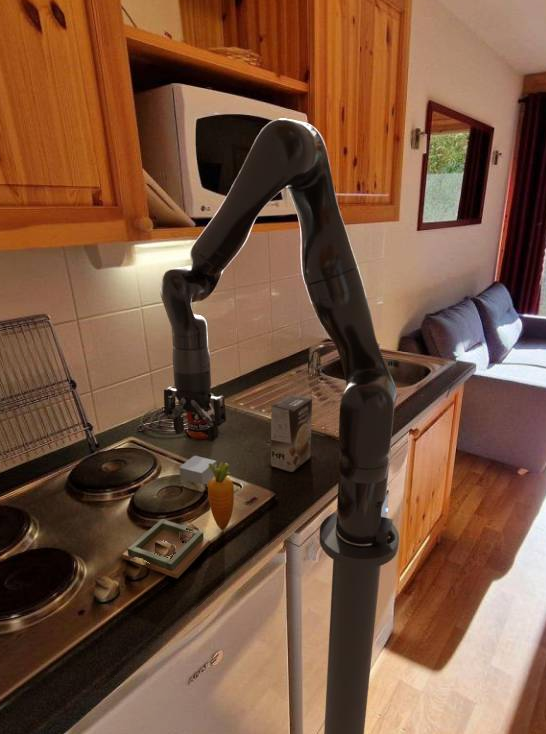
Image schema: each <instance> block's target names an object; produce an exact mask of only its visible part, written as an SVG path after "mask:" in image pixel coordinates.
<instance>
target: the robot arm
mask: <svg viewBox="0 0 546 734" xmlns="http://www.w3.org/2000/svg"><path fill="white" fill-rule="evenodd" d="M324 140H325V139H324V138H323V136H322V135H321V133H320V132H319V131H318V130H317V128H316V127H314V126H313V125H312V124H310V123H308V122H305V121H301V120H295V119H291V118H290V119H289V118H278V119H274V120H272V121H269V122H268V123H267V124H266V125H265V126H264V127H262V129H261V130H260V132H259V134H258V135H257V136H256V138H255V140H254V141H253V144H252V146H251V148H250V150H249V152H248V153H247V156H246V158H245V160H244V163H243V164H242V166H241V169H240V170H239V172H238V175H237V177H236V178H235V180H234V182H233V184H232V185H231V188H230V189H229V192H228V193H227V195H226V196H225V198H224V200H223V201H222V203H221V205H220V206H219V208H218V209H217V211H216V213H215V214H214V216H213V217H212V218H211V220H210V221H209V222H208V224H207V225H206V227H205V228H204V229H203V231H202V232H201V233H200V235H199V236H198V238H197V239H196V240H195V242H194V243H193V244H192V247H191V248H190V251H189V258H190V261H191V264H190V265H187V266H181V267H174V268H173V267H172V268H170V269H167V270H166V271H165V272H164V273H163V274H162V276H161V279H160V282H159V293H160V298H161V301H162V304H163V307H164V310H165V313H166V317H167V318H168V321H169V324H170V326H171V339H172V369H173V382H174V385H171V386H168V387H167V388H165V389H164V390H163V409H164V414H165V415H167V416H168V415H169V416H171V419H172V422H173V430H174V432H175V435H181V434H182V433H184V431H185V424H184V423H185V422H184V415H183V414H184V413H185V412H186V413H187V412H193V413H195V414H199V415H200V416H201V418H202V419H204V420H205V421H206V422H207V424H208V438H207V440H208V442H209V443H214V441H216V440H217V439H218V437H219V427H220V426H221V425H223V424H225V423H226V422H227V413H226V402H225V396H224V395H219V396H214V397H213V396H212V395H211V393H212V392H211V387H212V375H211V374H212V373H211V355H210V349H209V338H208V324H207V320H206V319H205V317H203V316H202V315H199V314H195V313H194V310H193V308H192V304H197V303H201V302H203V301H205V300H206V299H209V297H210V296H211V295H212V294H213V293H214V292H215V290H216V288H217V286H218V284H219V282H220V280H221V278H222V275H223V272H224V270H225V269H226V268H227V267H228V266H229V265H230V263H231V262H232V261H233V260H234V259H235V258H236V256H238V254H239V253H240V251H241V250H242V248H243V247H244V246H245V244H246V242H247V240H248V239H249V236H250V234H251V231H252V228H253V226H254V224H255V222H256V219H257V218H258V217H259V215H260V213H261V212H262V211H263V210H264V209H265V207H266V206H267V205H268V203H270V201H272V200H273V198H275V197H276V196H277V195H278V194H279V193H280V192H282V191H283V190H285V188H287V190H288V192H289V195H290V198H291V200H292V203H293V206H294V209H295V211H296V215H297V218H298V224H299V229H300V268H301V275H302V278H303V283H304V285H305V289H306V291H307V296H308V297H309V301H310V304H311V307H312V309H313V311H314V314H315V316H316V318H317V319H318V321H319V323H320V325H321V326H322V328H323V329H324V331H325V332H326V334H327V335H328V337H329V338H330V340H331V342H332V343H333V344H334V347H335V348H336V351H337V353H338V356H339V359H340V363H341V366H342V370H343V374H344V378H345V379H344V380H345V385H346V387H345V389H344V391H343V393H342V395H341V398H340V403H339V415H338V417H339V418H338V419H339V420H338V447H339V465H338V467H339V468H338V481H337V482H338V483H337V485H338V486H337V505H336V512H337V520H336V530H335V531H336V535H337V537H338V538H339V539H340V540H341V541H342V542H344V543H345V544H347V545H350V546H353V547H359V548H366V547H376V548H378V546H379V544H380V543H383V544H386V543H388V544H390V543H392V542H393V541H394V540H395V535H394V533H393V532H392V531H391V530H392V524H393V522H394V519H392V518H390V517H388V516H387V515H388V511H389V508H388V506H389V497H390V496H389V495H390V490H388V481H389V471H390V463H391V452H392V435H393V424H394V415H395V407H396V404H397V398H398V397H397V396H398V395H397V394H398V392H397V388H396V384H395V382H394V379H393V376H392V374H391V372H390V370H389V368H388V366H387V363H386V361H385V358H384V356H383V353H382V351H381V349H380V346H379V343H378V340H377V336H376V333H375V329H374V323H373V320H372V319H373V318H372V313H371V310H370V306H369V302H368V297H367V295H366V290H365V286H364V282H363V278H362V276H361V273H360V268H359V265H358V263H357V259H356V257H355V254H354V251H353V248H352V245H351V241H350V238H349V235H348V232H347V229H346V225H345V222H344V220H343V217H342V213H341V210H340V207H339V203H338V200H337V196H336V195H337V194H336V190H335V184H334V180H333V177H332V175H333V174H332V171H331V164H330V159H329V154H328V151H327V150H328V149H327V147H326V146H327V145H326V143H325V141H324ZM176 399H177V401H178V404H176V403H177V402H176ZM210 403H212V406H211V404H210ZM213 407H214V409H213ZM206 409H207V410H208V412H207V413H206V412H205V410H206ZM210 417H211V418H210ZM211 419H212V420H211ZM389 536H390V538H389Z"/></svg>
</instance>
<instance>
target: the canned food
mask: <svg viewBox="0 0 546 734" xmlns="http://www.w3.org/2000/svg"><path fill="white" fill-rule="evenodd" d="M210 393H211V395H212V396H213V397H215V395H214V393H212V392H210ZM210 404H211V406H212V403H210ZM213 409H214V407H213ZM205 412H206V413H207V412H208V410H207V409H206V410H205ZM210 418H211V417H210ZM211 420H212V419H211ZM186 422H187V423H186V424H187V433H188V435H189V437H190V438H192V439H194V440H195V439H196V440H205V439H208V424H207V422H206V421H205V420H204V419H202V418H201V416H200V415H199V414H195V413H193V412H186Z"/></svg>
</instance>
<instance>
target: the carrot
mask: <svg viewBox="0 0 546 734" xmlns="http://www.w3.org/2000/svg"><path fill="white" fill-rule="evenodd" d="M208 465H209V467H210V468H211V470H212V472H213V474H214V476H215V477H214V478H213V479H212V480H211V481H209V482H208V485H207V487H208V489H207V497H208V503H209V507H210V510H211V514H212V517H213V519H214V522H215V523H216V525H217V527H218V529H220V530H221V531H225V529H226V528H227V527H228V525H229V523H230V521H231V518H232V515H233V510H234V505H235V504H234V503H235V502H234V501H235V487H234V486H235V485H234V483H233V481H232V479H231V478H230V477H229V475H231V472H230V471H228V469H229V467H230V465H229V463H227V462H225V463H224V462H223V461H220V462H219V465H218V467H217V469H216V471H215V468H214V466H213V465H212V464H211V463H209V464H208ZM225 527H226V528H225Z"/></svg>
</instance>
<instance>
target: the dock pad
mask: <svg viewBox="0 0 546 734" xmlns="http://www.w3.org/2000/svg"><path fill="white" fill-rule="evenodd" d="M186 528H189V527H188V526H185V525H182V524H179V523H176V522H173V521H169V520H167V519H163V518H161V519H160V520H159V521H157V523H155V524H154V525H153V526H151V528H149V529H148V530H147V531H146V532H145V533H144V534H142V535H141V536H140V537H139V538H138V539H137V540H135V541H134V542H133V543H132V544H130V546H128V547H127V548H126V549H127V550H125V551H124V552H123V553H122V559H123V560H126V561H129V560H130V559H131V558H134V557H138V558H143V559H144V560H146V561H147V562H149V563H150V564H149V563H147V562H146V566H144V567H145V568H147V569H151V570H153V571H155V572H158V573H161V574H164V575H166V576H169V577H172V578H174V579H176V580H177V579H179V578H180V577H181V576H182V575H183V573H184V572H185V571H186V570H187V569H188V568H189V567H190V566H191V565H192V563H194V562H195V561H196V559H197V558H198V557H200V555H201V554H202V553H203V552H204V551H205V550H206V549H207V548H208V547H209V546H210V544H211V541H210V539H208V538H206V537H204V532H203V531H201V530H198V529H194V528H192V529H193V530H194V531H193V532H192V531H189V530H186ZM180 531H187V532H191V533H193V534H195V535H194V536H193V537H192V538H191V539H190V540H189V541H188V540H186V543H185V542H184V543H182V541H183V540H184V541H185V539H181V540H182V541H181V540H180V539H179V538H181V535H180V537H179V532H180ZM156 540H157V541H158V540H159V541H161V540H162V541H163V540H164V542H165V541H167V542H168V543H170V544H172V545H173V544H174V545H175V546H176V549H175V550H176V551H175V552H176V554H174V555H173V554H172V555H173V557H172V558H171V557H170V556H172V555H170V556H166V557H168V558H166V557H163V556H159V554H158V555H157V553H155V551H154V550H155V545H154V544H155V541H156ZM174 545H173V546H174ZM175 546H174V548H175ZM154 553H155V554H154ZM170 558H171V559H170Z"/></svg>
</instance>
